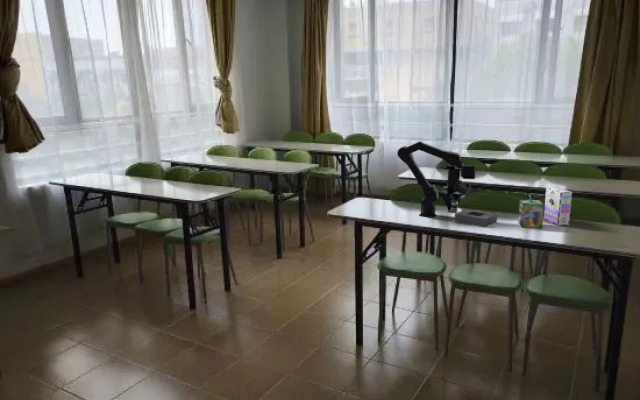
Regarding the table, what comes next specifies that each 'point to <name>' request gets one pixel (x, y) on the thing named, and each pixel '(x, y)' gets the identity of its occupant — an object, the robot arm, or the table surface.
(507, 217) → the table surface
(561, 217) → the candy box
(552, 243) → the table surface
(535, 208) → the chalk box
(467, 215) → the camera body
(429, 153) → the robot arm
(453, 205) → the lens
